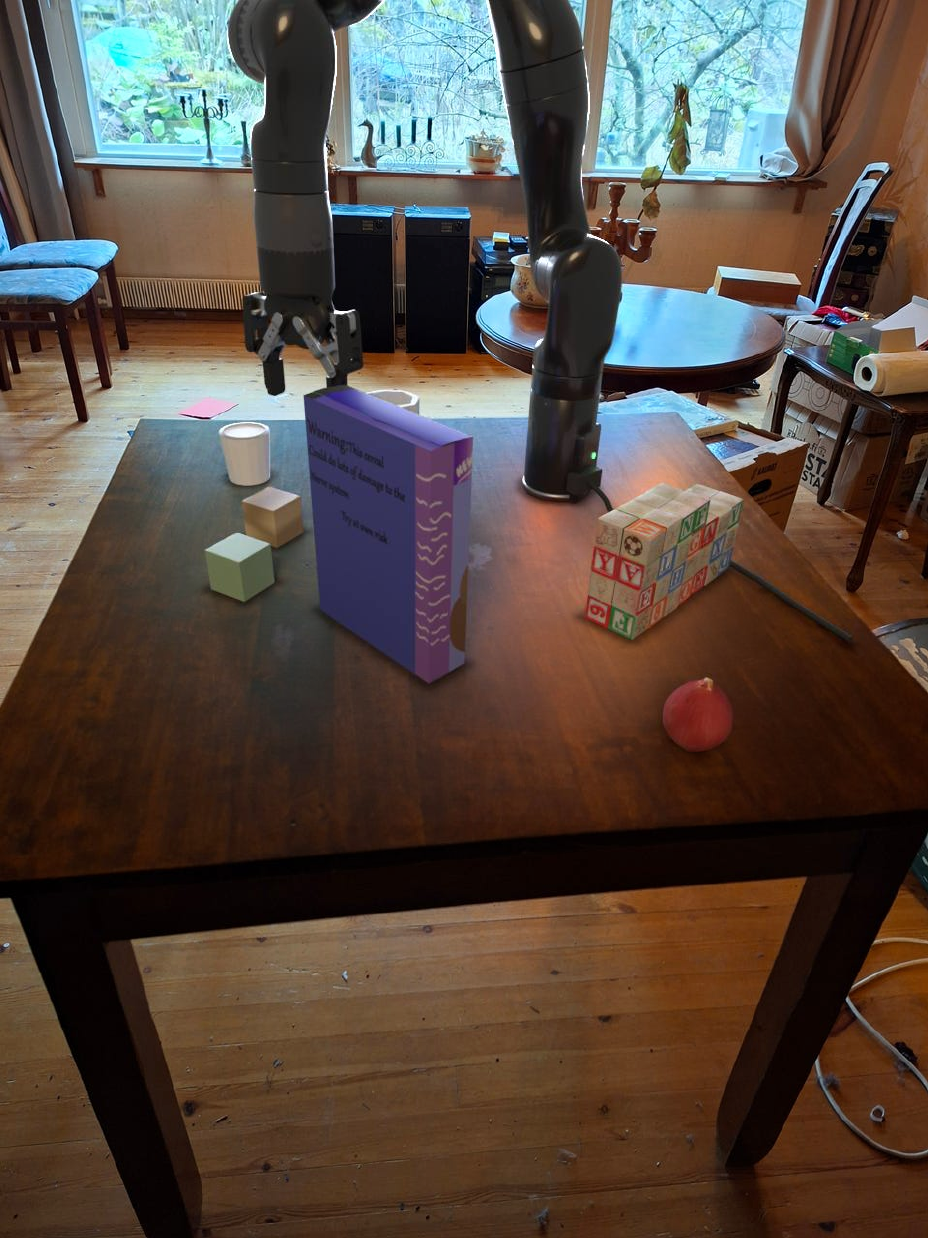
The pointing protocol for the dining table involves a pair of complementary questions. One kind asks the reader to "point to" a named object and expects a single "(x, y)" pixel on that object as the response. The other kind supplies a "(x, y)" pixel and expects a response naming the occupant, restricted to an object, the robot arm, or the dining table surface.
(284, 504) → the birch block
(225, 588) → the sage block
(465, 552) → the cereal box
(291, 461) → the dining table surface
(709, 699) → the onion
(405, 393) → the mug
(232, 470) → the white cup
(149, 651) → the dining table surface
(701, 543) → the stack of blocks
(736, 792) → the dining table surface
